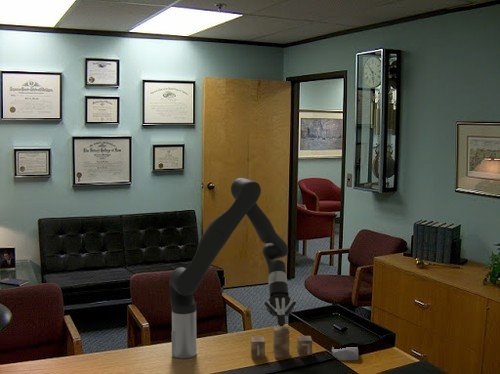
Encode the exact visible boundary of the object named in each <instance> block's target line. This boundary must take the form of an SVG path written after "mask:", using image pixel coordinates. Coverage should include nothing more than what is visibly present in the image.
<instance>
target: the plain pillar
mask: <svg viewBox="0 0 500 374" xmlns="http://www.w3.org/2000/svg"><path fill="white" fill-rule="evenodd" d="M290 334H291V333H290V329H289V327H288V326H287V327H286V326H285V327H284V326H277V327H273V335H272V336H273V338H272V340H273V343H272V344H273V349H272V350H273V353H272V354H273V356H274V359H289V358H290Z"/></svg>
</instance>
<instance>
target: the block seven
mask: <svg viewBox="0 0 500 374" xmlns="http://www.w3.org/2000/svg"><path fill="white" fill-rule="evenodd" d="M296 338H297V340H296V341H297V342H296V343H297V345H296V348H297V349H296V351H297V352H298V353H297V352H296V353H297V355H299V356H305V355H312V356H313V339H312V336H311V335H297V337H296ZM299 356H298V357H299Z"/></svg>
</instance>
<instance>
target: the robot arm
mask: <svg viewBox="0 0 500 374" xmlns="http://www.w3.org/2000/svg"><path fill="white" fill-rule="evenodd" d="M230 192H231V195H232V197H233V198H234V199H235V200H234V202H233V203H232V205H231V206H230V207H229V208H228V209H226V210H225V211H223V212H222V213H221V214H220V215H218V216H217V217H215V218H214V219H213V220H212V221H211V222H210V223H209V225H208V226H207V228H206V229H205V231H204V232H203V234H201V236H200V239H199V241H198V244H197V245H198V246H197V249H196V252H195V254H194V257H193V258H192V260H191V261H190V263H188V265H187V267H182V266H181V267H177V268H175V269H173V271H172V272H171V274H170V277H169V282H168V283H169V301H170V306H171V357H172V358H176V359H190V358H193V357H195V356H197V352H198V351H197V348H198V347H197V303H196V301H195V297H194V293H195V292H196V291H197V290H198V288H199V287H200V284H201V283H202V281H203V278H204V277H205V275H206V274H207V272H208V269H209V268H210V266H211V265H212V264H213V262H214V261H215V259H216V258H217V256H218V254H219V253H221V251H222V249H223V248H224V246H225V245H227V242H228V240H229V239H230V237H231V236H232V234H233V233H234V231H236V228H237V227H238V225H240V223H241V222H242V220H243V219H244V218H245V216H247V218H248V219H249V221H250V222H251V224H252V226H253V229H254V230H255V232H256V234H257V236H258V238H259V239H260V241H261V242H262V244H264V246H263V247H262V254H263V256H264V257H263V258H264V259H265V262H266V265H267V268H268V292H269V298H268V300H267V301H265V302H264V303H263V307H264V308H265V310H266V311H267V312H269V314H270V315H271V316H272V317H276V320H277V321H276V322H277V325H278V327H284V326H285V324H286V317H289V315H290V314H291V313H292V311H293V310H294V309H295V308H296V305H297V303H296V301H293V300H292V299H291V297H290V296H289V284H288V277H287V272H286V271H287V269H286V264H285V262H284V261H283V260H281V259H280V258H284V257H287V255H288V254H289V247H288V244H287V242H286V241H284V239H283V238H282V237H281V236H280V235H279V234H278V233H277V231H276V230H275V228H274V225H273V224H272V222H271V220H270V219H269V218H268V216H267V215H266V214H265V212H264V211H263V210H262V209H261V208H260V207H259V205H258V204H257V202H258V200H259V198H260V196H261V193H262V187H261V185H260V184H259V183H258V182H256V181H254V180H251V179H248V178H245V177H239V178H235V179H234V180H233V181H232V183H231V186H230ZM288 306H289V307H288ZM287 307H288V308H287ZM286 308H287V309H286Z"/></svg>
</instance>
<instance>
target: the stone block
mask: <svg viewBox="0 0 500 374" xmlns="http://www.w3.org/2000/svg"><path fill="white" fill-rule="evenodd" d="M331 353H332V357H333V356H334V357H335V358H337V359H338V360H337V359H336V360H337V361H358V360H359V348H358V346H357V347H346V348H342V349H341V348H340V349H334V347H333V346H332V347H331ZM334 357H333V358H334ZM335 358H334V359H335Z"/></svg>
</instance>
